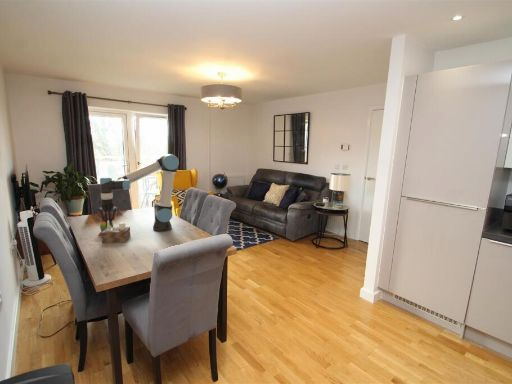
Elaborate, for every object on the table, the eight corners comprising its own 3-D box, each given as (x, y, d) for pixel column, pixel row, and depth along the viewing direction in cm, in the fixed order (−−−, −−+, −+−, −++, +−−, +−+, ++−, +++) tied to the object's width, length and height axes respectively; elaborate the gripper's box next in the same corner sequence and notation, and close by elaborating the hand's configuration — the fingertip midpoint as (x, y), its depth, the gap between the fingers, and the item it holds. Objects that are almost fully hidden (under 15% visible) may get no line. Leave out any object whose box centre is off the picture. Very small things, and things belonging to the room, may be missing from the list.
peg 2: (126, 232, 201) (125, 222, 200) (124, 233, 197) (124, 223, 196) (120, 232, 200) (120, 222, 199) (119, 233, 196) (118, 224, 195)
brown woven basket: (130, 236, 206) (129, 226, 205) (125, 242, 194) (124, 231, 193) (108, 237, 203) (107, 227, 202) (102, 243, 192) (101, 232, 190)
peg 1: (114, 238, 200) (113, 228, 199) (112, 240, 196) (111, 230, 195) (108, 238, 200) (107, 228, 198) (106, 240, 196) (105, 230, 194)
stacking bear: (97, 236, 205) (95, 214, 202) (101, 232, 215) (99, 211, 212) (113, 235, 208) (111, 213, 205) (116, 231, 218) (114, 210, 215)
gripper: (118, 197, 197) (120, 227, 201) (99, 197, 195) (101, 228, 199) (114, 199, 190) (117, 230, 194) (95, 199, 188) (97, 231, 192)
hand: (109, 229), depth 197 cm, fingers closed
